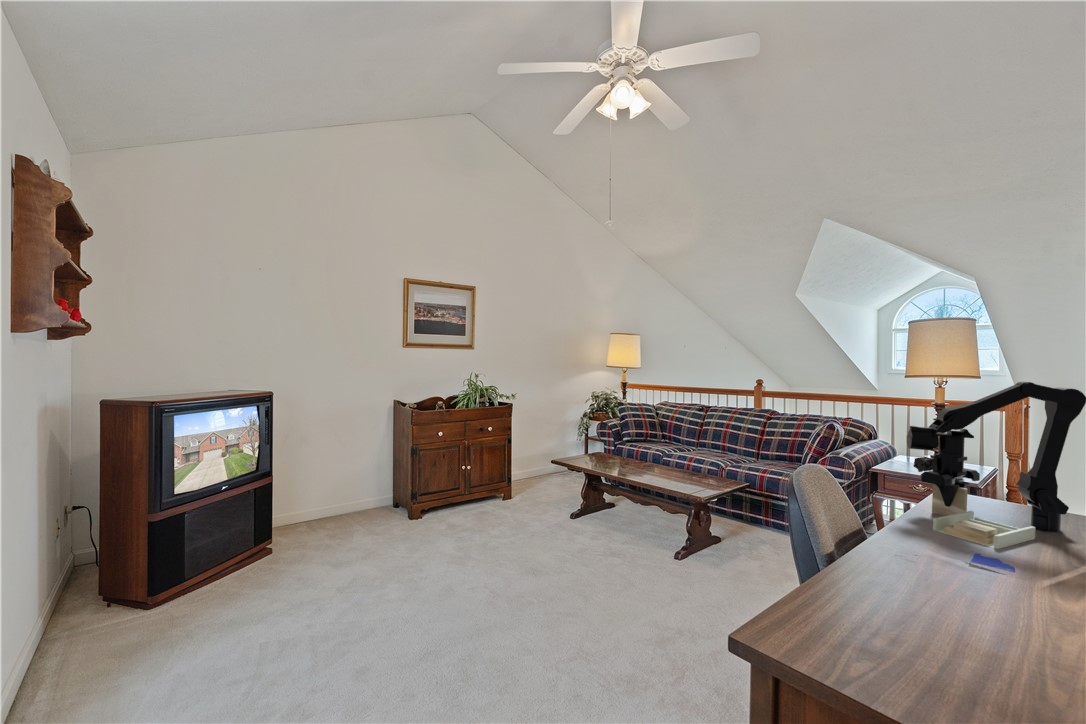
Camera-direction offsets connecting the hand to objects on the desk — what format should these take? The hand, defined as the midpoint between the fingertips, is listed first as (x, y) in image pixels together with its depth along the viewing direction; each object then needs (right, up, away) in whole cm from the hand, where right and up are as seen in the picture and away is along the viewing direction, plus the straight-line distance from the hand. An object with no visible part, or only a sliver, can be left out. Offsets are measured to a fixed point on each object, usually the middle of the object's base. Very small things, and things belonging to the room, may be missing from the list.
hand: (949, 505), depth 146 cm
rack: (-3, -4, -14) cm, 15 cm away
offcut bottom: (-8, -3, -17) cm, 19 cm away
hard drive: (-15, -5, -31) cm, 35 cm away
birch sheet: (0, -4, 0) cm, 4 cm away
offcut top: (-7, -2, -17) cm, 18 cm away
